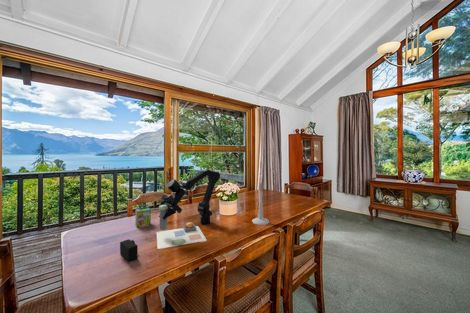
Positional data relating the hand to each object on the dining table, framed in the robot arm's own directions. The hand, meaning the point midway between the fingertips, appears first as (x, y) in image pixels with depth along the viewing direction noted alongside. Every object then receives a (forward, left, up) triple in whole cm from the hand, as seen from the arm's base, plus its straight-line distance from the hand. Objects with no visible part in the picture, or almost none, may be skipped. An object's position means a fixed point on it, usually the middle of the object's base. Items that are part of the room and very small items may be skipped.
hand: (161, 218), depth 118 cm
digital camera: (+16, +15, -13) cm, 25 cm away
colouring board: (-11, +2, -12) cm, 17 cm away
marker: (-1, -1, -7) cm, 7 cm away
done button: (-18, -6, -10) cm, 22 cm away
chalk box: (+11, -28, -13) cm, 33 cm away
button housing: (-18, -6, -12) cm, 22 cm away
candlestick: (-70, -1, -13) cm, 71 cm away
